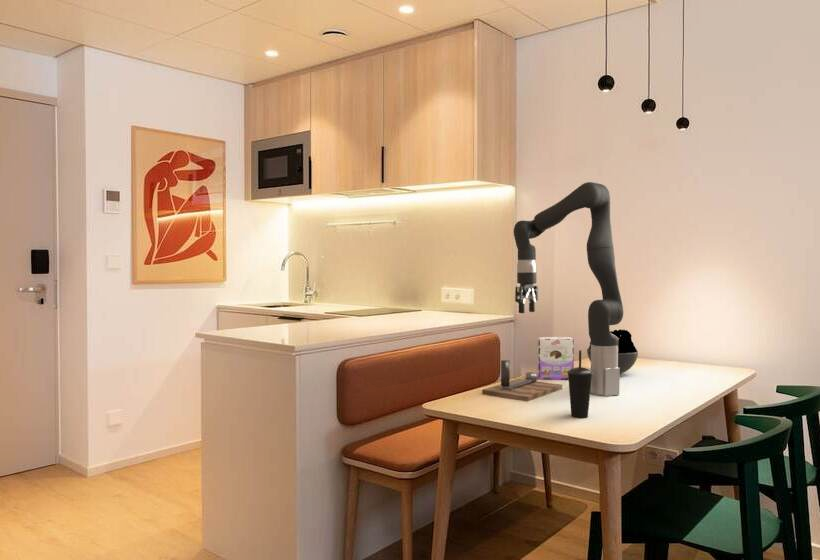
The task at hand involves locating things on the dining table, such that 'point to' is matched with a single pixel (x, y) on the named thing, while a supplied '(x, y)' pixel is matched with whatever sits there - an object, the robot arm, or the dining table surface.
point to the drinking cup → (579, 390)
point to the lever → (507, 385)
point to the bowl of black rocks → (623, 350)
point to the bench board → (523, 390)
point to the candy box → (554, 357)
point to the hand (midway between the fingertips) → (526, 312)
